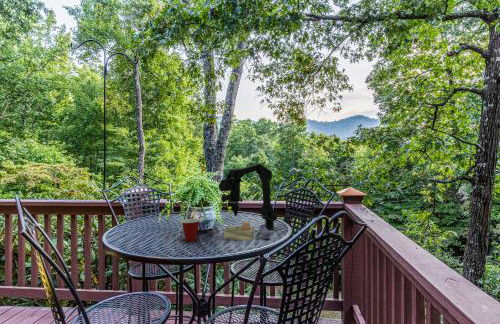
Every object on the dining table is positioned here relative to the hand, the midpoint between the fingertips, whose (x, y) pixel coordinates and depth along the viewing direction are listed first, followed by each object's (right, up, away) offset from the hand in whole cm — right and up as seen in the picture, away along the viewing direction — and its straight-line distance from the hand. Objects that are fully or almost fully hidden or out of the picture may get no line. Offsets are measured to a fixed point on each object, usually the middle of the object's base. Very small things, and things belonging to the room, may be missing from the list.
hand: (235, 215), depth 187 cm
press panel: (+2, -13, 0) cm, 13 cm away
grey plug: (-2, -12, +1) cm, 12 cm away
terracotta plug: (+6, -9, 0) cm, 11 cm away
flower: (+17, -13, -3) cm, 22 cm away
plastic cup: (-26, -13, -7) cm, 30 cm away
